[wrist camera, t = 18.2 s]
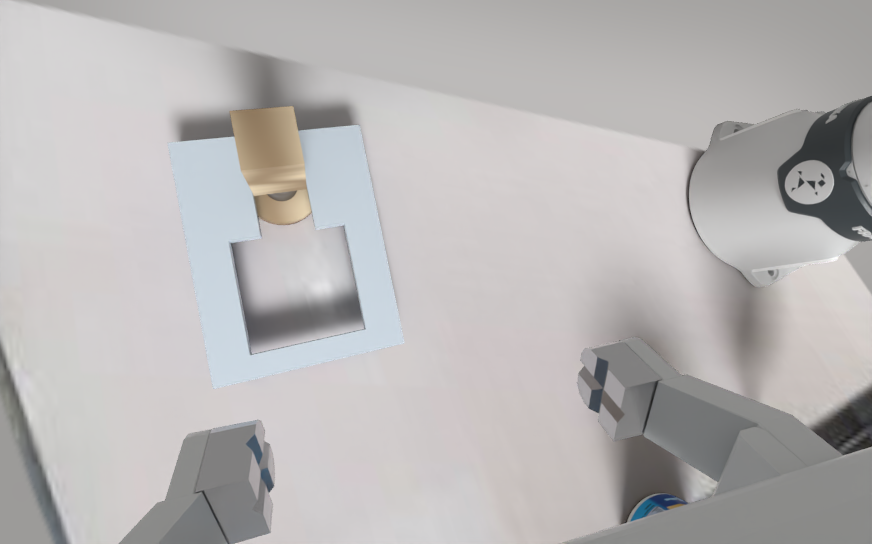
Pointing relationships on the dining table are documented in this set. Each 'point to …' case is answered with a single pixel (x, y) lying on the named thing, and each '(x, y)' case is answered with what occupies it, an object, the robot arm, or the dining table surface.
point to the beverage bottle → (655, 505)
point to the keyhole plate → (238, 221)
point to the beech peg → (272, 162)
